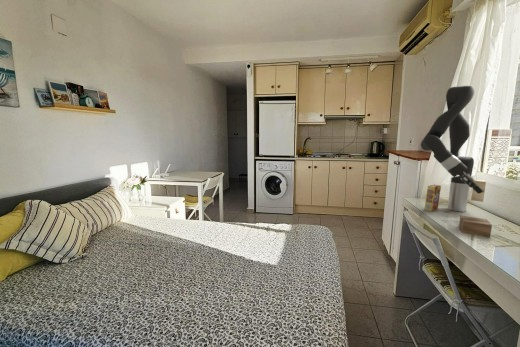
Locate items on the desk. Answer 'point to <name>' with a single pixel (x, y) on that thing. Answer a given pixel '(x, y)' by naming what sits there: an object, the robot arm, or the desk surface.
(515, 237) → the desk surface
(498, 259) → the desk surface
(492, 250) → the desk surface
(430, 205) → the candy box
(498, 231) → the desk surface
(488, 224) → the block
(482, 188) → the birch block
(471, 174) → the robot arm
